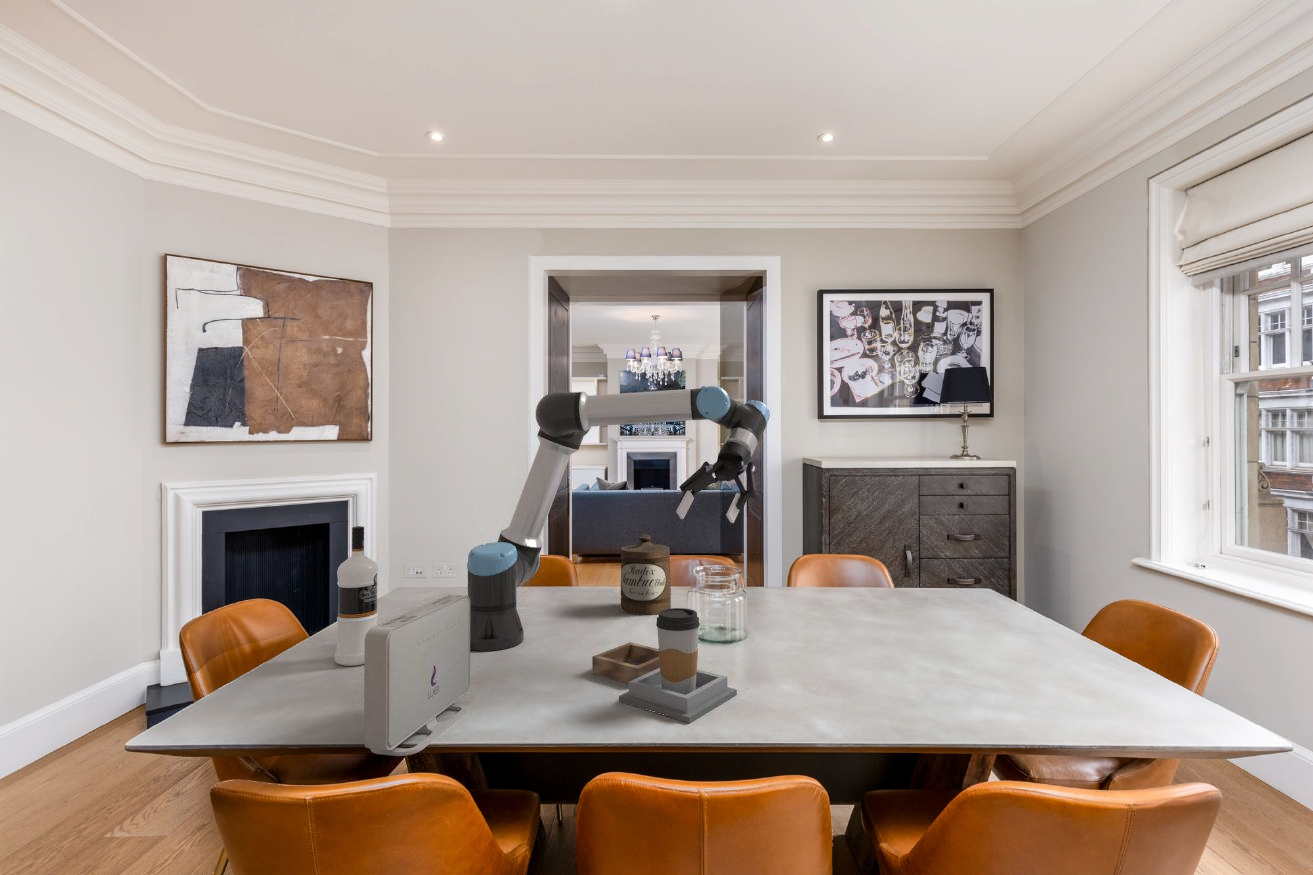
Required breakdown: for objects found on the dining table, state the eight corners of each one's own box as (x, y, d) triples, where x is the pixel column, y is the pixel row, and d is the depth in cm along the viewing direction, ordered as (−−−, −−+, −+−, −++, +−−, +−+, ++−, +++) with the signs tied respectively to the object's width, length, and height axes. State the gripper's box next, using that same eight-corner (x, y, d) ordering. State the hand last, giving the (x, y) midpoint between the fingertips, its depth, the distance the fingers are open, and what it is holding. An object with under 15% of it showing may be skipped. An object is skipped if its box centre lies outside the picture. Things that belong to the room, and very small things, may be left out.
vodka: (345, 653, 147) (346, 524, 147) (386, 653, 147) (387, 523, 148) (326, 667, 137) (327, 529, 138) (369, 667, 138) (370, 528, 138)
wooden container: (615, 614, 181) (615, 537, 182) (626, 602, 196) (626, 530, 196) (666, 616, 179) (666, 538, 179) (674, 603, 194) (673, 531, 194)
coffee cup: (705, 686, 123) (704, 608, 123) (694, 703, 115) (693, 619, 115) (664, 682, 125) (663, 606, 126) (650, 697, 118) (650, 616, 118)
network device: (399, 768, 94) (400, 632, 94) (347, 762, 96) (348, 629, 96) (481, 701, 119) (481, 594, 119) (438, 697, 121) (439, 592, 121)
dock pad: (619, 701, 119) (618, 682, 119) (669, 676, 131) (669, 659, 131) (689, 723, 109) (689, 702, 109) (736, 694, 122) (736, 676, 122)
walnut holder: (592, 673, 133) (592, 656, 133) (630, 657, 143) (630, 642, 143) (637, 686, 126) (637, 668, 126) (674, 669, 136) (674, 652, 136)
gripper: (788, 461, 151) (758, 531, 139) (701, 461, 166) (667, 523, 154) (778, 439, 147) (746, 509, 134) (689, 440, 162) (653, 503, 150)
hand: (703, 517), depth 144 cm, fingers open, 13 cm apart
